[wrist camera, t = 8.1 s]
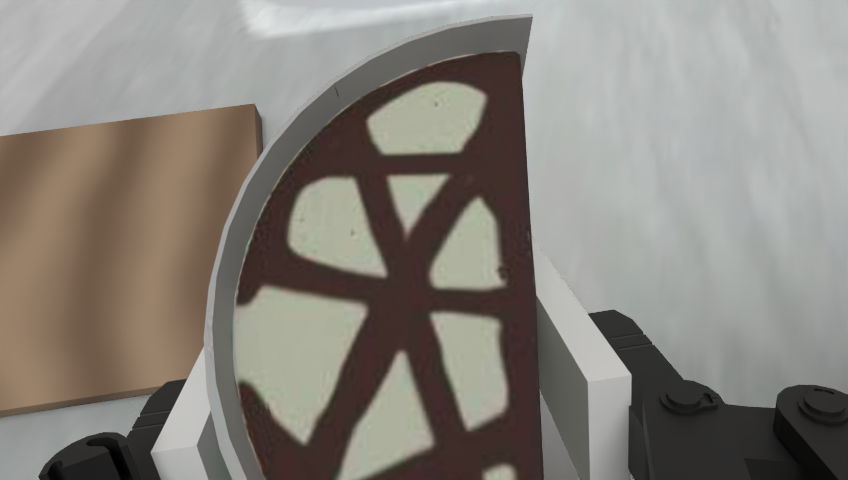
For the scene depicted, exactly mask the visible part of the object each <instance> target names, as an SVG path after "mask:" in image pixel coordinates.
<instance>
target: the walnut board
mask: <svg viewBox="0 0 848 480" xmlns="http://www.w3.org/2000/svg"><path fill="white" fill-rule="evenodd" d="M262 152H263V145H262V124H261V117H260V115H259V112H258V110H257V108H256V106H255V104H248V105H240V106H232V107H224V108H217V109H209V110H201V111H193V112H186V113H178V114H170V115H162V116H155V117H147V118H139V119H131V120H124V121H116V122H108V123H101V124H93V125H85V126H77V127H70V128H62V129H54V130H46V131H39V132H31V133H23V134H15V135H8V136H0V417H5V416H12V415H18V414H24V413H31V412H37V411H44V410H50V409H57V408H63V407H70V406H76V405H83V404H89V403H96V402H102V401H109V400H115V399H122V398H128V397H135V396H141V395H148V394H154V393H155V392H156V391H157V390H158V389H159V388H161V387H162V386H163V385H164V384H165V383H166V382H168V381H175V380H181V379H187V378H188V377H189V375H190V373H191V371H192V369H193V367H194V365H195V363H196V361H197V359H198V357H199V355H200V353H201V351H202V349H203V347H204V329H205V319H206V309H207V299H208V289H209V284H210V280H211V275H212V271H213V267H214V263H215V259H216V256H217V252H218V248H219V244H220V240H221V236H222V232H223V229H224V226H225V223H226V221H227V219H228V216H229V214H230V212H231V209H232V207H233V205H234V203H235V200H236V198H237V196H238V193H239V191H240V189H241V187H242V184H243V182H244V181H245V179H246V177H247V176H248V174H249V173H250V171H251V170H252V168H253V166H254V165H255V163H256V162H257V160H258V159H259V157H260V155H261V154H262Z"/></svg>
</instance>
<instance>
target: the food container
mask: <svg viewBox="0 0 848 480" xmlns="http://www.w3.org/2000/svg"><path fill="white" fill-rule="evenodd" d="M532 18H533V14H523V15H507V16H492V17H486V18H481V19H476V20H470V21H465V22H459V23H454V24H449V25H446V26H443V27H439V28H436V29H433V30H430V31H427V32H424V33H421V34H418V35H414V36H411V37H408V38H406V39H404V40H402V41H399V42H397V43H395V44H393V45H391V46H389V47H387V48H385V49H382V50H380V51H378V52H376V53H374V54H372V55H370V56H368V57H366V58H365V59H363V60H362V61H360V62H358V63H357V64H355V65H354V66H352V67H351V68H349V69H348V70H346V71H345V72H343V73H341V74H340V75H338V76H337V77H335V78H334V79H332V80H331V81H330V82H328V83H327V84H326V85H325V86H324V87H323V88H322V89H320V90H319V91H318V92H317V93H316V94H315V95H313V96H312V97H311V98H310V99H309V100H308V101H307V102H305V103H304V104H303V105H302V106H301V107H300V108H298V109H297V111H296V112H295V113H294V114H293V115H292V116H291V117H290V119H289V120H288V121H287V122H286V123H285V124H284V126H283V127H282V128H281V129H280V130H279V131H278V132H277V134H276V135H275V136H274V137H273V138H272V139H271V141H270V142H269V143H268V144H267V146H266V147H265V149H264V151H263V152H262V154H261V155H260V157H259V159H258V160H257V162H256V163H255V165H254V166H253V168H252V170H251V171H250V173H249V174H248V176H247V177H246V179H245V181H244V182H243V184H242V187H241V189H240V191H239V193H238V196H237V198H236V200H235V203H234V205H233V207H232V209H231V212H230V214H229V216H228V219H227V221H226V223H225V226H224V229H223V232H222V236H221V240H220V244H219V248H218V252H217V256H216V259H215V263H214V267H213V271H212V275H211V280H210V284H209V289H208V299H207V309H206V319H205V329H204V353H205V370H206V386H207V395H208V400H209V404H210V409H211V413H212V417H213V422H214V426H215V431H216V435H217V439H218V444H219V448H220V451H221V454H222V456H223V458H224V461H225V463H226V466H227V468H228V471H229V473H230V476H231V478H232V480H544V475H543V454H542V434H541V414H540V394H539V365H538V335H537V305H536V283H535V272H534V260H533V248H532V236H531V224H530V207H529V190H528V173H527V156H526V138H525V120H524V103H523V88H522V76H523V70H524V65H525V59H526V53H527V47H528V42H529V36H530V30H531V24H532Z"/></svg>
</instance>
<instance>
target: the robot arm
mask: <svg viewBox="0 0 848 480" xmlns="http://www.w3.org/2000/svg"><path fill="white" fill-rule="evenodd" d="M532 248H533V260H534V272H535V283H536V305H537V335H538V365H539V388H540V391H541V393H542V395H543V397H544V400H545V402H546V404H547V406H548V408H549V411H550V413H551V415H552V417H553V420H554V422H555V424H556V426H557V428H558V431H559V433H560V435H561V437H562V440H563V442H564V444H565V446H566V448H567V451H568V453H569V455H570V457H571V460H572V462H573V464H574V466H575V468H576V471H577V473H578V475H579V477H580V480H630V472H631V474H632V476H633V478H634V479H635V480H848V395H847V394H844V393H842V392H840V391H837V390H835V389H831V388H827V387H822V386H817V385H796V386H792V387H788V388H785V389H784V390H783V391H782V392H780V393H779V394H778V396H777V402H776V408H762V407H746V406H736V405H728V404H725V403H724V402H723V400H722V399H721V397H720V396H719V394H717V393H716V392H714V391H713V390H711V389H710V388H709V387H707V386H704V385H702V384H699V383H696V382H694V381H688V380H684V379H683V378H682V377H681V376H680V375H679V374H678V372H677V371H676V370H675V369H674V368H673V367H672V365H671V364H670V363H669V362H668V361H667V360H666V358H665V357H664V356H663V355H662V354H661V353H660V351H659V350H658V349H657V348H656V347H655V346H654V345H652V342H651V341H650V340H649V339H648V337H647V336H646V335H644V334H643V332H642V330H641V329H640V328H639V327H638V326H637V324H636V323H635V322H634V321H633V320H632V319H631V318H629V317H627V316H625V315H623V314H621V313H619V312H617V311H616V310H608V311H602V312H596V313H589V314H587V313H586V311H585V310H584V308H583V307H582V306H581V304H580V303H579V301H578V300H577V299H576V297H575V296H574V295H573V293H572V292H571V290H570V289H569V288H568V286H567V285H566V283H565V282H564V281H563V279H562V278H561V277H560V275H559V274H558V272H557V271H556V270H555V268H554V267H553V265H552V264H551V263H550V261H549V260H548V259H547V257H546V256H545V254H544V253H543V252H542V250H541V249H540V247H539V246H538V245H537V243H536V242H535V241H534V239H533V238H532ZM132 429H133V430H132V431H130V432H129V434H128V436H127V438H126V437H125V436H123V435H121V434H119V433H111V432H103V433H99V434H95V435H91V436H87V437H85V438H83V439H81V440H78V441H76V442H74V443H72V444H70V445H69V446H67V447H66V448H64V449H63V450H61V451H60V452H58V453H56V454H55V455H54V456H53V457H52V458H51V459H50V460H49V461H48V462H47V463H46V464H45V465H44V467H43V469H42V471H41V473H40V474H39V476H38V477H39V479H40V480H232V478H231V476H230V473H229V471H228V468H227V466H226V463H225V461H224V458H223V456H222V454H221V451H220V448H219V444H218V439H217V435H216V431H215V426H214V422H213V417H212V413H211V409H210V404H209V400H208V395H207V386H206V370H205V353H204V347H203V349H202V351H201V353H200V355H199V357H198V359H197V361H196V363H195V365H194V367H193V369H192V371H191V373H190V375H189V377H188V378H187V379H181V380H175V381H168V382H166V383H165V384H164V385H163V386H162V387H161V388H159V389H158V390H157V391H156V392H155V393H154V394H153V395H152V396H151V397H150V398H149V399H148V401H147V403H146V405H145V406H144V408H143V410H142V411H141V413H140V417H138V418H137V420H136V422H135V424H134V425H133V427H132Z"/></svg>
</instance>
